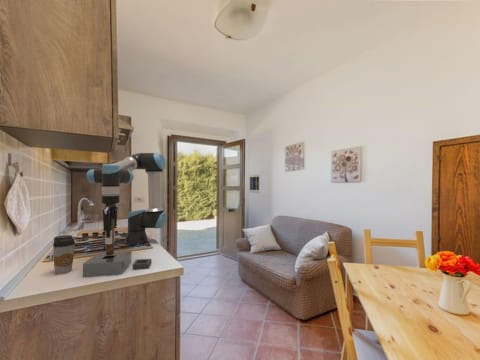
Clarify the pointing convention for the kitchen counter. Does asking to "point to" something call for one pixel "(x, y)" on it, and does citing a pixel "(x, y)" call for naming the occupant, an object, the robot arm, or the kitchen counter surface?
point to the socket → (141, 264)
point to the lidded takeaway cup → (61, 238)
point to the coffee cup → (63, 255)
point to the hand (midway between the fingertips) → (110, 242)
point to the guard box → (107, 264)
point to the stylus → (111, 246)
